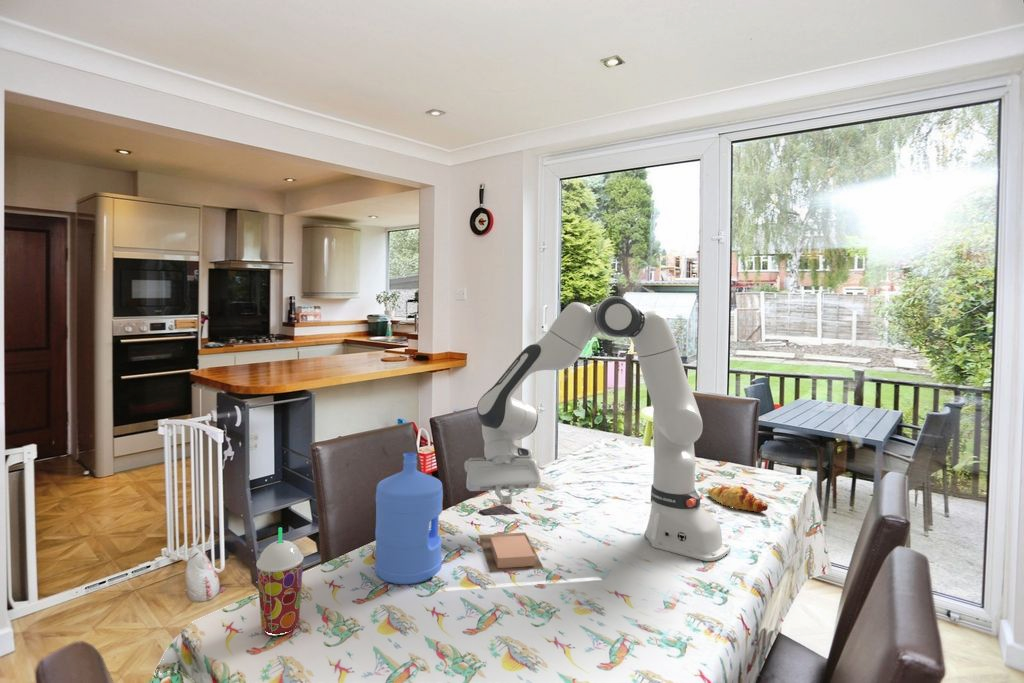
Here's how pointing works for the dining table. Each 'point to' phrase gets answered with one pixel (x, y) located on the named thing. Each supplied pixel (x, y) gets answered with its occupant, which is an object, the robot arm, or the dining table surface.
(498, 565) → the terracotta tile
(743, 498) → the croissant
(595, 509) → the dining table surface
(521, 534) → the walnut board
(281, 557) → the smoothie
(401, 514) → the water jug
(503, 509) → the chocolate bar
